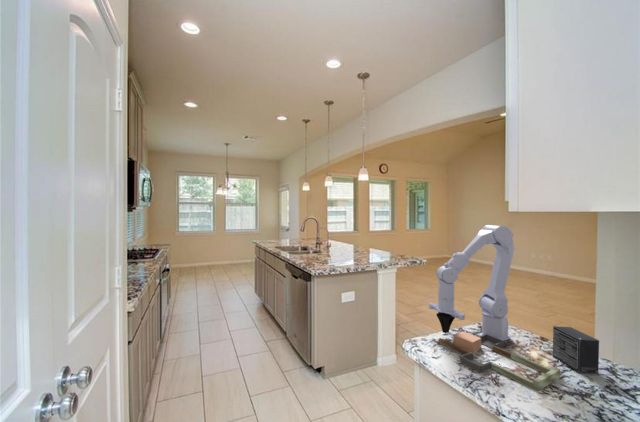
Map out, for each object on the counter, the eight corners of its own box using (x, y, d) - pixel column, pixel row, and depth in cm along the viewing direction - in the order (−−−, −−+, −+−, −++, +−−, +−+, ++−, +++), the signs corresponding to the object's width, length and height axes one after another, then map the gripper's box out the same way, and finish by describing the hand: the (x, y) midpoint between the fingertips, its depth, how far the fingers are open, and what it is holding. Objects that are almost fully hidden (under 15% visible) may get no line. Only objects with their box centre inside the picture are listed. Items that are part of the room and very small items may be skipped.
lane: (461, 335, 113) (461, 329, 113) (560, 377, 85) (560, 369, 85) (438, 342, 106) (438, 336, 106) (537, 391, 78) (537, 382, 78)
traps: (485, 339, 110) (485, 333, 110) (523, 354, 98) (523, 348, 98) (443, 354, 98) (443, 348, 98) (480, 373, 86) (480, 366, 86)
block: (461, 341, 108) (462, 331, 108) (481, 349, 102) (481, 338, 102) (453, 345, 105) (453, 335, 105) (472, 353, 99) (472, 342, 99)
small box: (600, 374, 87) (601, 340, 87) (579, 373, 87) (579, 339, 87) (570, 356, 97) (571, 326, 97) (551, 356, 98) (552, 325, 97)
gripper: (424, 294, 116) (423, 327, 116) (456, 304, 103) (455, 341, 103) (435, 291, 119) (435, 324, 119) (468, 301, 106) (467, 337, 106)
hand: (445, 332), depth 111 cm, fingers closed
